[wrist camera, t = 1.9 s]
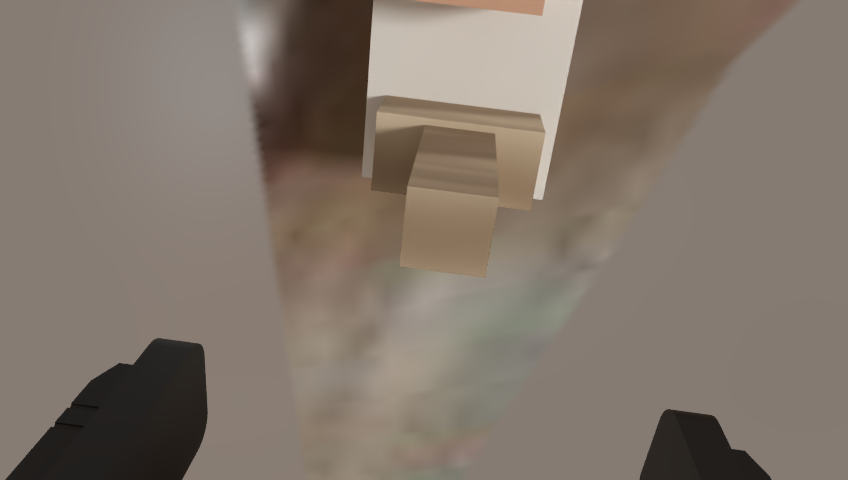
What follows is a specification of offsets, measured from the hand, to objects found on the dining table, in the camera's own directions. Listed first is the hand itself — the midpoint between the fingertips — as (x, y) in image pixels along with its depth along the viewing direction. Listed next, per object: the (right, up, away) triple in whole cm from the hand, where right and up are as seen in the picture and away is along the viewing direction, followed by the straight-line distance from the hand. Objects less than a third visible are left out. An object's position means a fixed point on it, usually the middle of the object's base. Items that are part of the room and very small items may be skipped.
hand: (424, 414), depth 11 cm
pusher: (+1, +7, +14) cm, 16 cm away
